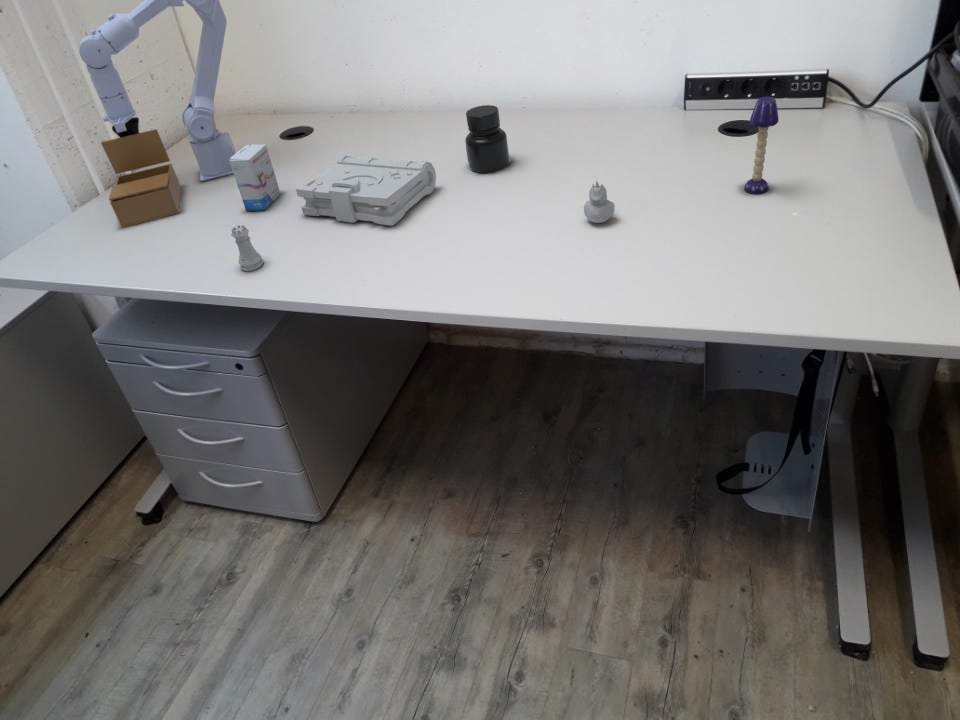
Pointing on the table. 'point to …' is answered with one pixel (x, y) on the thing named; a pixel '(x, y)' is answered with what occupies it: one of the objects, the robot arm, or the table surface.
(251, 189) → the ink box
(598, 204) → the rubber duck
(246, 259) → the rook chess piece
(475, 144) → the ink bottle
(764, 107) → the toy lamp
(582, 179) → the table surface
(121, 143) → the flap
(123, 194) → the bin
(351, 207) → the book
